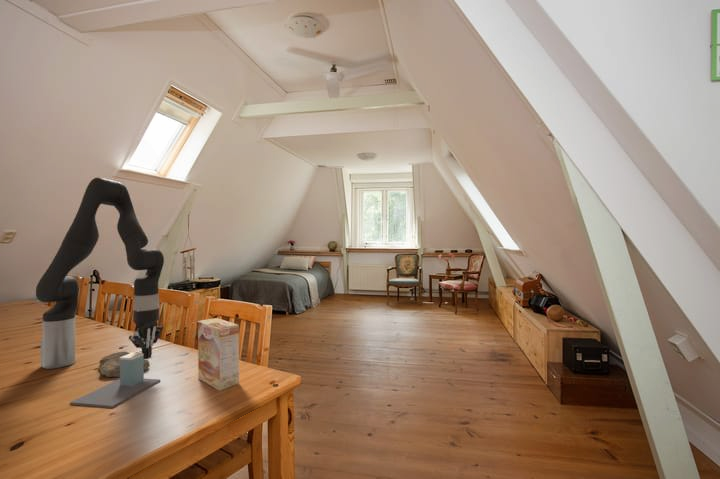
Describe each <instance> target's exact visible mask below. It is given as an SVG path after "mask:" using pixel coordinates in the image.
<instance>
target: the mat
mask: <svg viewBox="0 0 720 479" xmlns="http://www.w3.org/2000/svg"><path fill="white" fill-rule="evenodd" d="M160 382H161V379H159V378H157V379H156V378H144V381H142V382H140V383H138V384H136V385H135V386H133V387H131V386H120V378H118V379H115V380H114V381H112V382H110V383H108V384H106V385H104V386H101V387H99V388H97V389H96V390H93V391H91V392H88V393H86V394H85V395H82V396H79V397H78V398H76V399H74V400H72V401H70V402H69V405H72V406H73V405H75V406H83V407H84V406H85V407H95V408H109V409H113V408H115V407H118V406H119V405H122V403H124V402H126V401H128V400H130V399H131V398H133V397H135V396H137V395H139V394H140V393H142V392H144V391H145V390H148V389H149V388H151V387H153V386H155V385H156V384H158V383H160Z"/></svg>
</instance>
